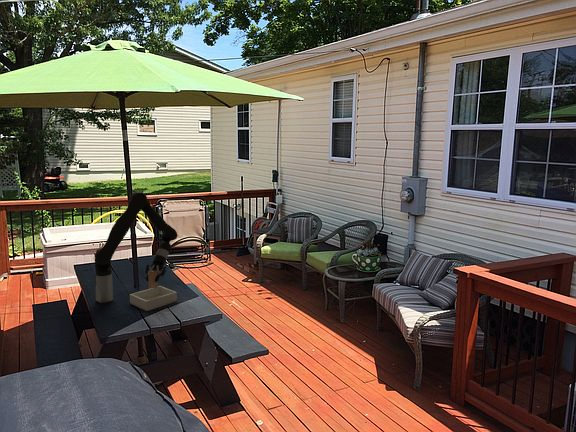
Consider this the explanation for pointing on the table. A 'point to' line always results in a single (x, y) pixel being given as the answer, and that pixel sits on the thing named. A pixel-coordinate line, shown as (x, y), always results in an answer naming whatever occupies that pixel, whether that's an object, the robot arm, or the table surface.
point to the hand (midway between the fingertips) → (151, 281)
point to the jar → (152, 278)
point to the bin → (153, 298)
